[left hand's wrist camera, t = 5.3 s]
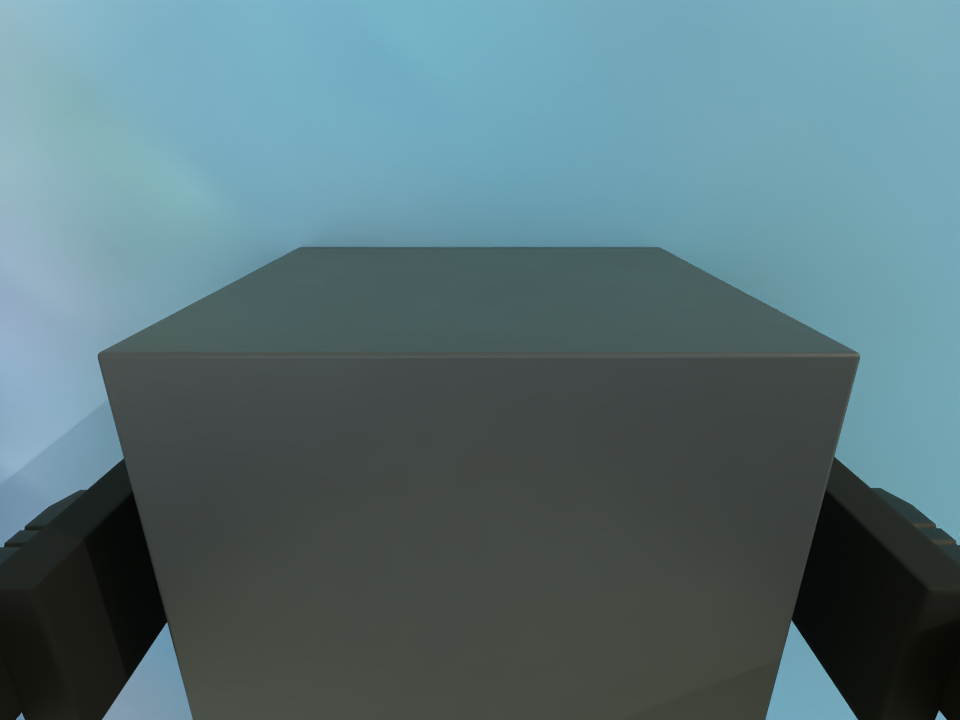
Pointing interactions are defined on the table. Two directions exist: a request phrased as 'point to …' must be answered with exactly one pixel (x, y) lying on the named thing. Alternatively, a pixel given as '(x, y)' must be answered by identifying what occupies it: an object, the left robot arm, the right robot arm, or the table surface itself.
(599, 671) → the wide block
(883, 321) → the table surface
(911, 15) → the table surface
